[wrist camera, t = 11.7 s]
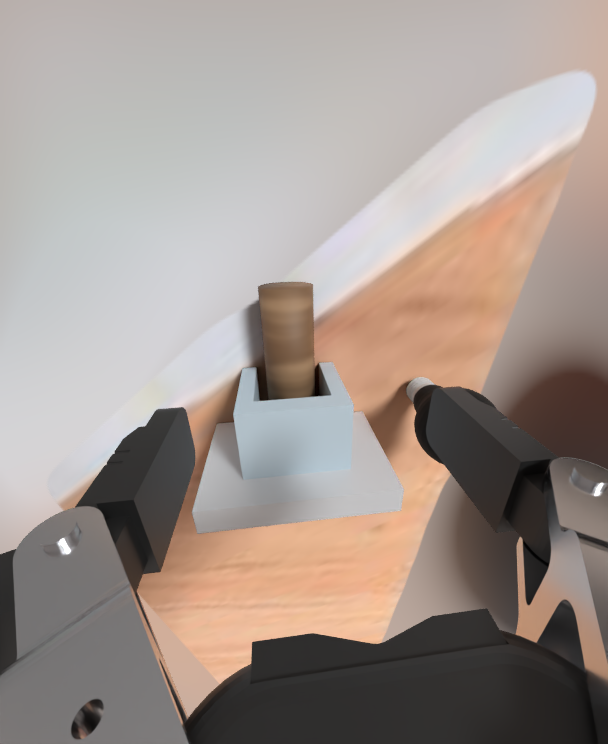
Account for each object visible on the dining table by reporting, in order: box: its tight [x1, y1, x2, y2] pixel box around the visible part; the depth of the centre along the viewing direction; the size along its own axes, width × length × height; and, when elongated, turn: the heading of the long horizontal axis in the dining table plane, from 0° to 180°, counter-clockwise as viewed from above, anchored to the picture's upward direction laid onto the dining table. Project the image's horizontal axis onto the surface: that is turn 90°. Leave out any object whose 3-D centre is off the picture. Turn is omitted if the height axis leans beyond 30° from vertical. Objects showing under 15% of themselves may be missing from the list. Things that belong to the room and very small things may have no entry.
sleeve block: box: [233, 362, 354, 480], centre depth 24 cm, size 6×8×8 cm
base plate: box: [192, 411, 404, 534], centre depth 25 cm, size 2×14×10 cm, turn 92°
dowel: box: [258, 282, 315, 400], centre depth 24 cm, size 11×4×4 cm, turn 2°
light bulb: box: [406, 377, 496, 464], centre depth 24 cm, size 6×6×10 cm
